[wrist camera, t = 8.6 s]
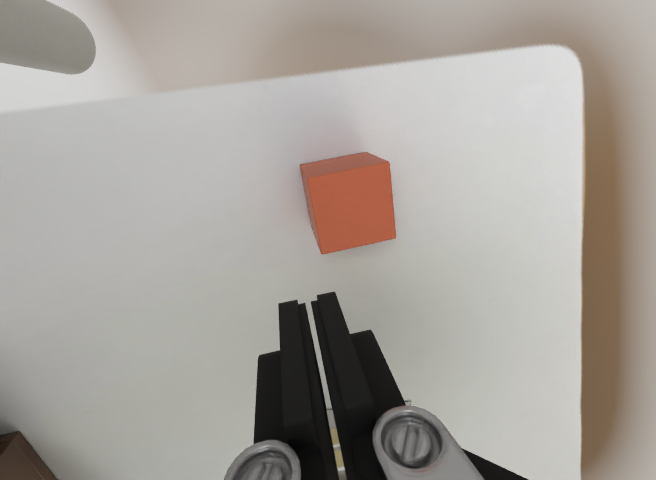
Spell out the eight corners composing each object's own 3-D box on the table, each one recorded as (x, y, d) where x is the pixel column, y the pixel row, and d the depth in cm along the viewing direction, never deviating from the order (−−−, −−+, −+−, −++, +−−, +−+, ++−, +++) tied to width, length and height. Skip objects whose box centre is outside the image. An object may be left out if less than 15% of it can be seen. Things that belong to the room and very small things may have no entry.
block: (311, 228, 23) (321, 255, 19) (299, 164, 22) (307, 177, 17) (373, 215, 24) (396, 238, 20) (366, 151, 22) (390, 161, 18)
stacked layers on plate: (304, 477, 33) (311, 543, 28) (307, 411, 30) (315, 473, 25) (398, 464, 35) (420, 524, 30) (411, 400, 31) (438, 456, 26)
